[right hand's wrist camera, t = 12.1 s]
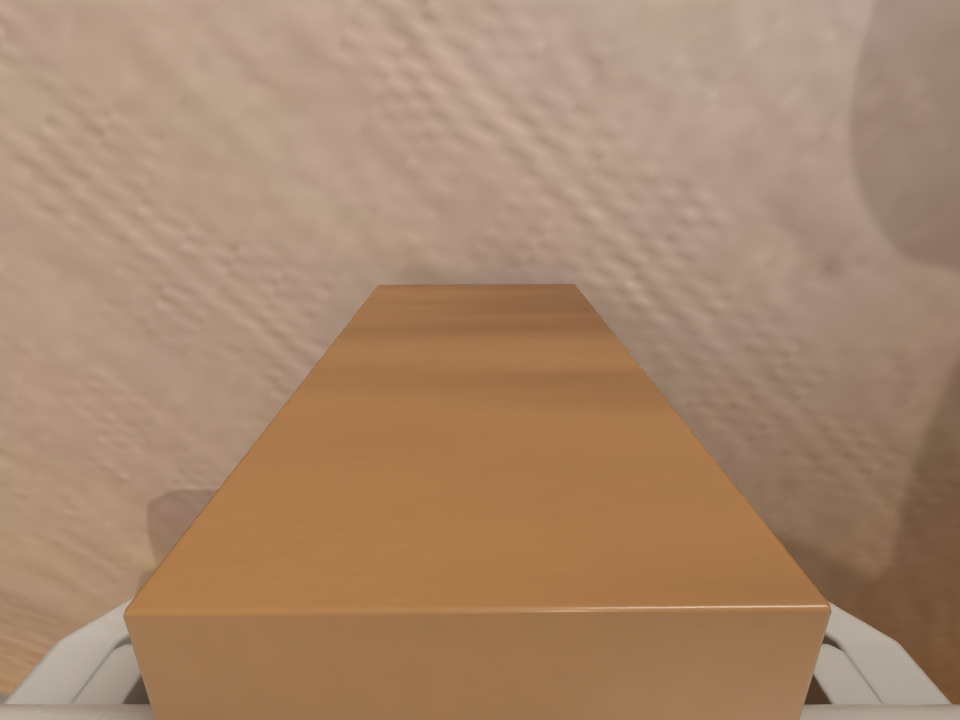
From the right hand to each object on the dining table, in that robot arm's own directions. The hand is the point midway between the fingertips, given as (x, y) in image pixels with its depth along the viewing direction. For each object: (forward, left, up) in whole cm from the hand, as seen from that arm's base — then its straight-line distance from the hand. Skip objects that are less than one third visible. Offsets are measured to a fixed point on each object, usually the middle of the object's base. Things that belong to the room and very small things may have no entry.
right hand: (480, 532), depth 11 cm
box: (-2, +9, -7) cm, 12 cm away
